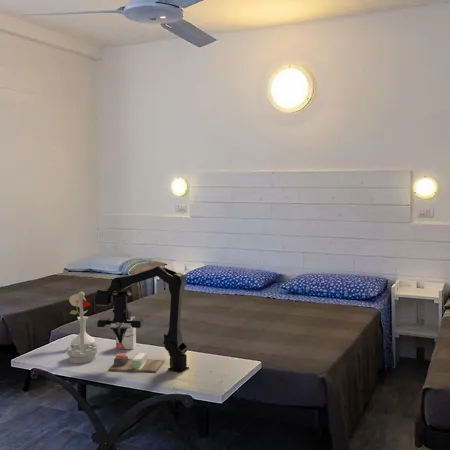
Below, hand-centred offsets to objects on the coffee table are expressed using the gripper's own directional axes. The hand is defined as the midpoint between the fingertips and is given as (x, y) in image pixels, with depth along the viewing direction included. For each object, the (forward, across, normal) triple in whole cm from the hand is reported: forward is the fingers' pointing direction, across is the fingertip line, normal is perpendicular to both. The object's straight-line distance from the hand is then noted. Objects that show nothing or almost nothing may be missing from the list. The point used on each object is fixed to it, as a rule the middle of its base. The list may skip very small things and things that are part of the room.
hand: (120, 343), depth 238 cm
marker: (+9, -8, 0) cm, 12 cm away
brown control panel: (+10, -7, 0) cm, 12 cm away
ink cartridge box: (+10, +6, -27) cm, 30 cm away
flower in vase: (+10, +28, -29) cm, 42 cm away
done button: (+7, 0, 0) cm, 7 cm away
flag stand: (+10, +20, -8) cm, 24 cm away
